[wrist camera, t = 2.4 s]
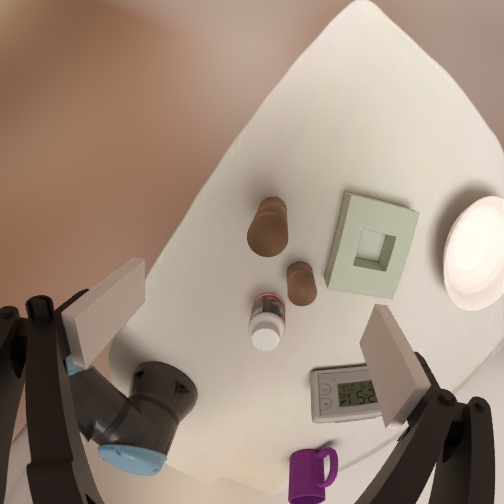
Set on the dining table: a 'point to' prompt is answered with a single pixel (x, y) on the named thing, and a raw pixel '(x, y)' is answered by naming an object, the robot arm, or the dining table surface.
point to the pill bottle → (267, 322)
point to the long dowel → (269, 228)
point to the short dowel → (301, 284)
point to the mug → (310, 475)
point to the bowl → (476, 255)
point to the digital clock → (343, 395)
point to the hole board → (347, 240)
